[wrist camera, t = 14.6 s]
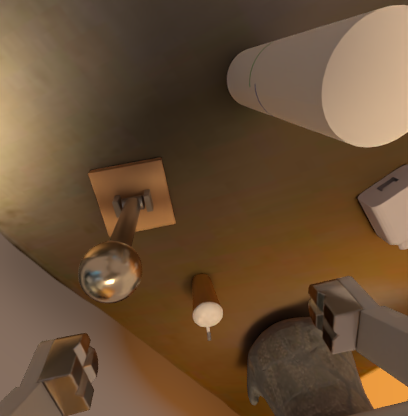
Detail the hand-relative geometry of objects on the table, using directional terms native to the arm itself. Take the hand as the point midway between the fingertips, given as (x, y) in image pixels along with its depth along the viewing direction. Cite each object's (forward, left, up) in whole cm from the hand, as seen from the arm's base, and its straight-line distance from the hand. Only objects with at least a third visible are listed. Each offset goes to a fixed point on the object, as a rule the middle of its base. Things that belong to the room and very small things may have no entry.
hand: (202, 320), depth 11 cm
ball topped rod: (+4, -7, -21) cm, 22 cm away
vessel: (+45, +16, -33) cm, 58 cm away
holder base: (+7, -7, -33) cm, 34 cm away
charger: (+19, +35, -33) cm, 52 cm away
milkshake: (+25, 0, -33) cm, 42 cm away
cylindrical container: (-6, +12, -33) cm, 36 cm away
